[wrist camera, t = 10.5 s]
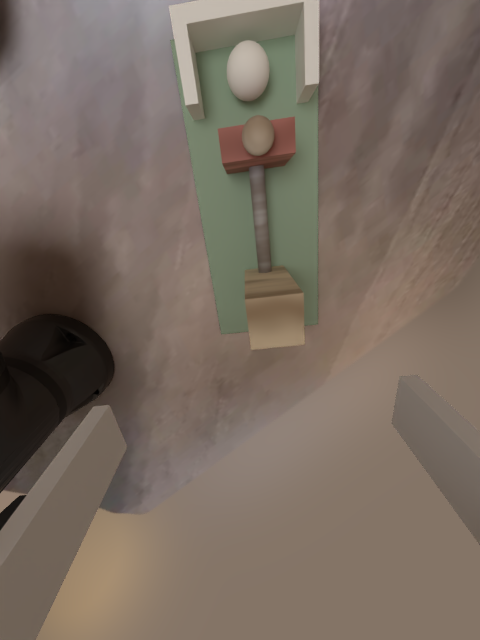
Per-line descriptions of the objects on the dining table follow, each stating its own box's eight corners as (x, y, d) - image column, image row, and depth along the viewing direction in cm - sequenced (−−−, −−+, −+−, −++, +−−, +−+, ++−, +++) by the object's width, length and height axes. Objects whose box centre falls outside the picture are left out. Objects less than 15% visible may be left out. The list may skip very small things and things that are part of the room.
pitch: (317, 323, 36) (317, 324, 35) (221, 333, 36) (221, 334, 36) (317, 15, 23) (318, 12, 23) (171, 41, 24) (170, 40, 24)
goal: (308, 101, 25) (319, 83, 22) (193, 120, 26) (185, 105, 22) (307, 14, 23) (319, -24, 19) (180, 38, 24) (168, 6, 20)
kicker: (290, 301, 34) (312, 343, 23) (243, 306, 34) (243, 350, 23) (282, 138, 26) (310, 86, 15) (223, 147, 27) (209, 102, 16)
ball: (273, 92, 22) (270, 27, 20) (229, 99, 22) (221, 36, 20) (268, 101, 26) (265, 46, 23) (230, 108, 26) (224, 54, 24)
